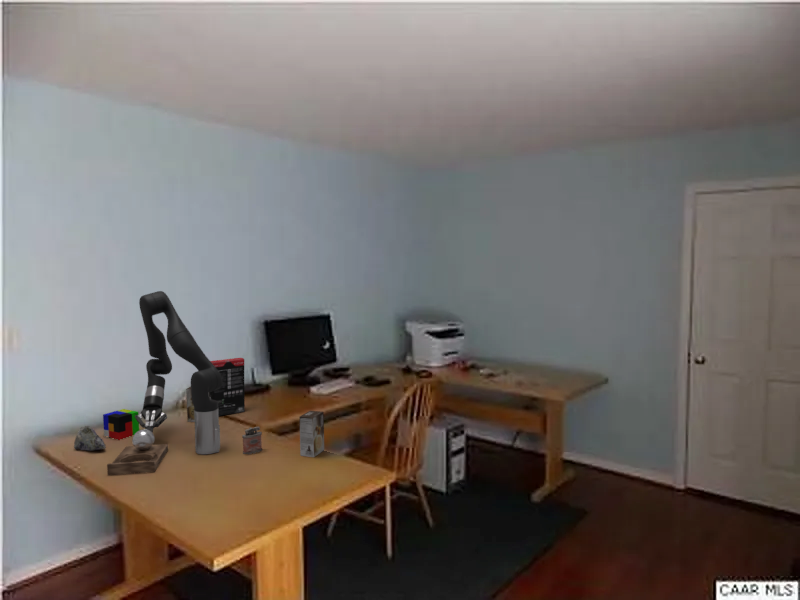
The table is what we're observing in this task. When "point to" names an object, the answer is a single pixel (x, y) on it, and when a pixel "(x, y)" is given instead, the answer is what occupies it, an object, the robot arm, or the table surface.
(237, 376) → the graphics card box
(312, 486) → the table surface
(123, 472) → the wooden ball holder
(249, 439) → the lighter
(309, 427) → the coffee box
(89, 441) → the mineral rock
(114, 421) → the puzzle toy
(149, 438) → the steel ball
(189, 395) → the coffee box
